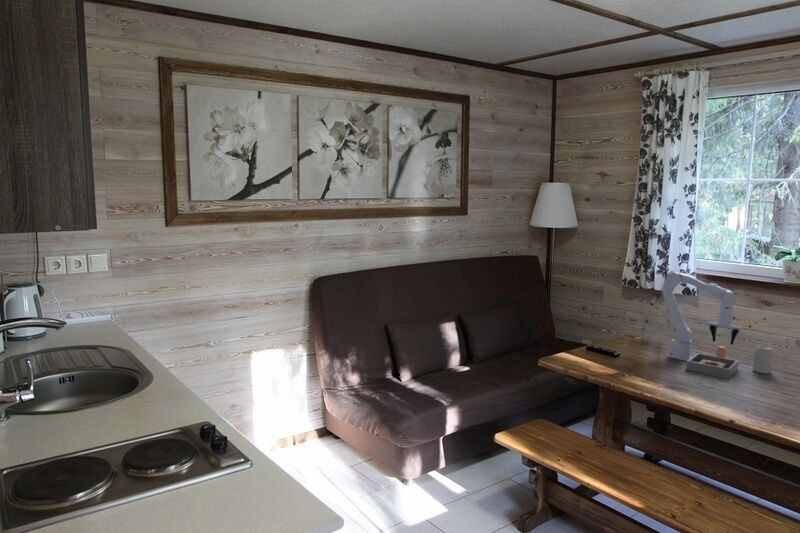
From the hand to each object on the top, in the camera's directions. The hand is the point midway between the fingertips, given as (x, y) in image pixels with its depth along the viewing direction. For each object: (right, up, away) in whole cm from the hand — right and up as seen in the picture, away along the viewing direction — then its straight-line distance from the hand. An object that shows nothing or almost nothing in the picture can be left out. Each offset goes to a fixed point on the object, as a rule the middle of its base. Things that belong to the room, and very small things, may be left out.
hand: (722, 342), depth 288 cm
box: (-10, -12, -9) cm, 18 cm away
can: (+13, -13, -10) cm, 21 cm away
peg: (0, -10, +2) cm, 10 cm away
